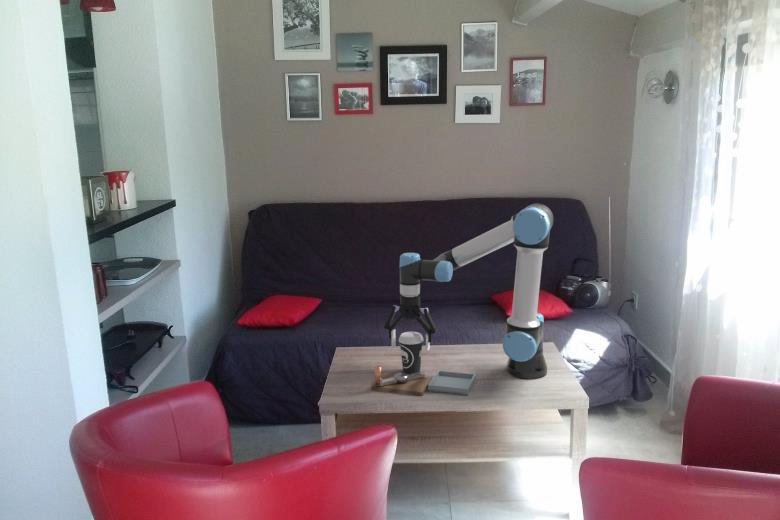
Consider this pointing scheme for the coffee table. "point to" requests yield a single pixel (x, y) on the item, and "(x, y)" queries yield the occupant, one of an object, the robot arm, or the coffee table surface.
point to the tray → (452, 382)
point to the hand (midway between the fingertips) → (410, 348)
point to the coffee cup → (411, 351)
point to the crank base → (404, 386)
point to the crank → (395, 377)
